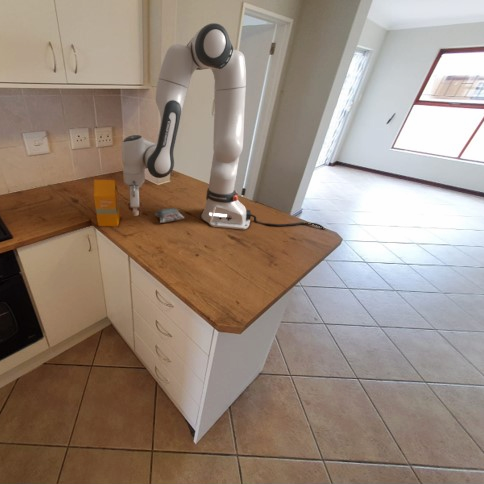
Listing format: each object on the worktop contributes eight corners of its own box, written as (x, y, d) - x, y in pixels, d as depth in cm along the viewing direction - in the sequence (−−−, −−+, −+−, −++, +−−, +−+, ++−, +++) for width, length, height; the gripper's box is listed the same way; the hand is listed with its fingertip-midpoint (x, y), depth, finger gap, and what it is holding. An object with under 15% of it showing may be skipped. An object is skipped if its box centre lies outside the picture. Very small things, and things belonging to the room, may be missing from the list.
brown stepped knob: (142, 210, 116) (141, 199, 112) (142, 217, 111) (142, 204, 108) (129, 211, 115) (128, 199, 112) (128, 217, 110) (128, 205, 107)
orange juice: (117, 226, 111) (113, 183, 100) (97, 226, 111) (91, 182, 99) (120, 218, 117) (116, 176, 106) (101, 217, 117) (95, 176, 106)
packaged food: (184, 222, 115) (185, 212, 112) (160, 226, 111) (160, 216, 109) (177, 214, 122) (177, 205, 119) (154, 217, 118) (154, 208, 116)
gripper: (142, 187, 95) (142, 218, 103) (141, 169, 112) (141, 198, 120) (125, 187, 95) (127, 219, 103) (127, 169, 112) (128, 198, 119)
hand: (135, 207), depth 111 cm, fingers closed on brown stepped knob, 6 cm apart
